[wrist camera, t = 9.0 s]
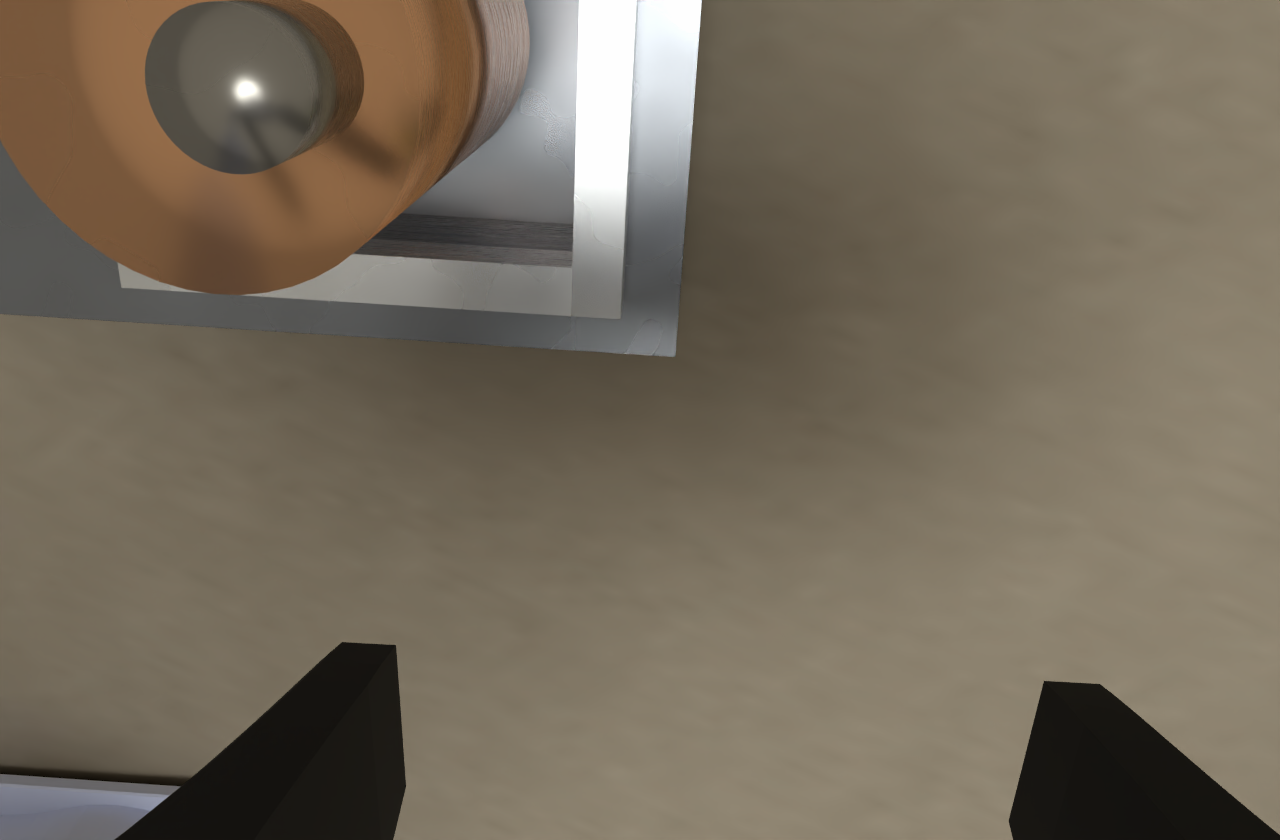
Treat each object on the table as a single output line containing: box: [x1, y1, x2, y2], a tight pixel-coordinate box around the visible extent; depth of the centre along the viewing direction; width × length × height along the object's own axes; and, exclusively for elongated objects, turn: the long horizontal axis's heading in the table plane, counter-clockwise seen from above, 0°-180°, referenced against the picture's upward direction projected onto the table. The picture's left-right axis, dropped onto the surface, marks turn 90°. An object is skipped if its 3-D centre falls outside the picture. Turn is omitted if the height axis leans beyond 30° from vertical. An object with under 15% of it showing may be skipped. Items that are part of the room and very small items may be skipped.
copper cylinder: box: [0, 0, 530, 295], centre depth 13 cm, size 4×4×10 cm
